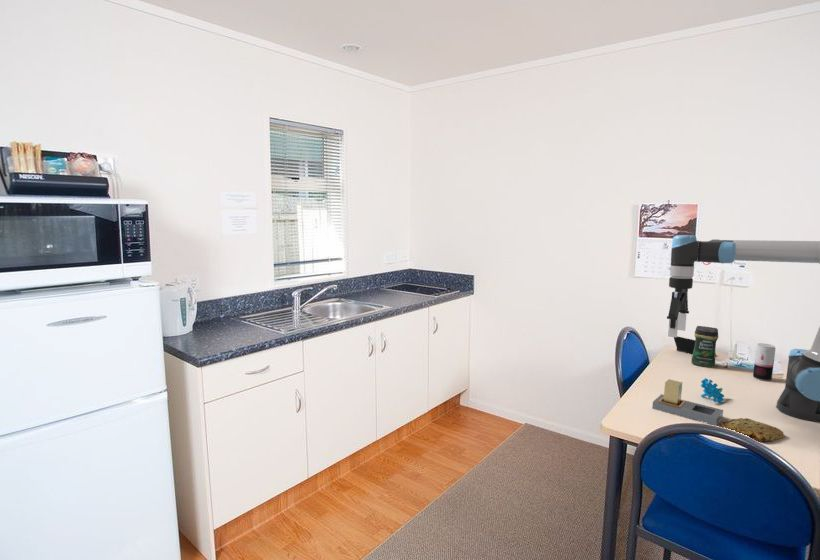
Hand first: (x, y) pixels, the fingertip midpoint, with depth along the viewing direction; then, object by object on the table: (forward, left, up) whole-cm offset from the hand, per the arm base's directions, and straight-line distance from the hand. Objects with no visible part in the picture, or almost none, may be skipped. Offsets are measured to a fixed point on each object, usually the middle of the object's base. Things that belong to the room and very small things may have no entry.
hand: (676, 333), depth 174 cm
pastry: (-27, +9, -27) cm, 39 cm away
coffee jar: (+1, -58, -26) cm, 64 cm away
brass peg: (-3, +9, -26) cm, 28 cm away
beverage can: (-22, -55, -26) cm, 65 cm away
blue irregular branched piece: (-11, -12, -27) cm, 31 cm away
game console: (+9, -76, -27) cm, 81 cm away
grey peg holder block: (-8, +9, -26) cm, 28 cm away
